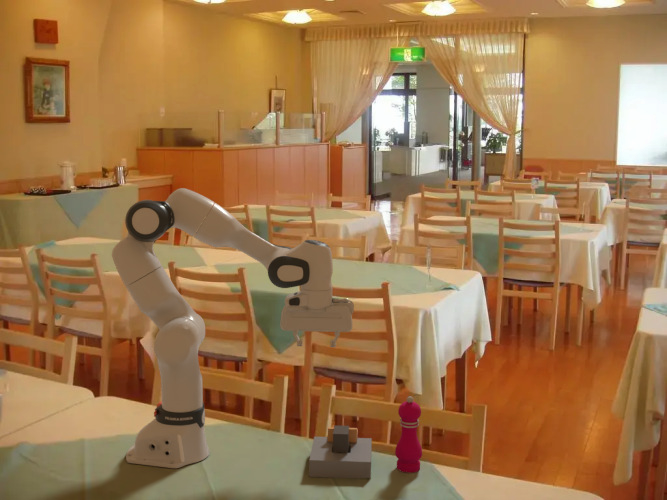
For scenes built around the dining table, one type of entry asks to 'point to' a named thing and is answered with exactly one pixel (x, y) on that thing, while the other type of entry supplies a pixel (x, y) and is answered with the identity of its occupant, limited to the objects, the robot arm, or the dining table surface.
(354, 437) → the block
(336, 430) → the plug
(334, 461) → the socket block
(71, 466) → the dining table surface
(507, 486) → the dining table surface
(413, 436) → the pepper mill
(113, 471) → the dining table surface
